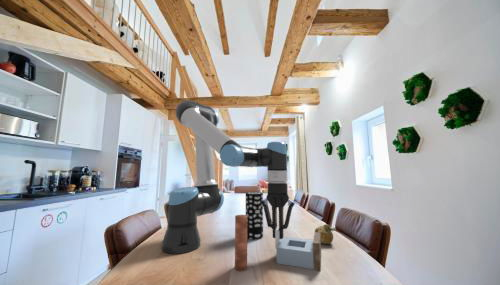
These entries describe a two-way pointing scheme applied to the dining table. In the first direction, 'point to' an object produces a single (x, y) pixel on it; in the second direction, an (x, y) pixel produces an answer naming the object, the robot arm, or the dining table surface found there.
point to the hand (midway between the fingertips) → (278, 247)
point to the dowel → (241, 242)
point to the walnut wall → (317, 251)
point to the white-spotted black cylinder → (254, 215)
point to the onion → (325, 233)
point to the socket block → (295, 252)
